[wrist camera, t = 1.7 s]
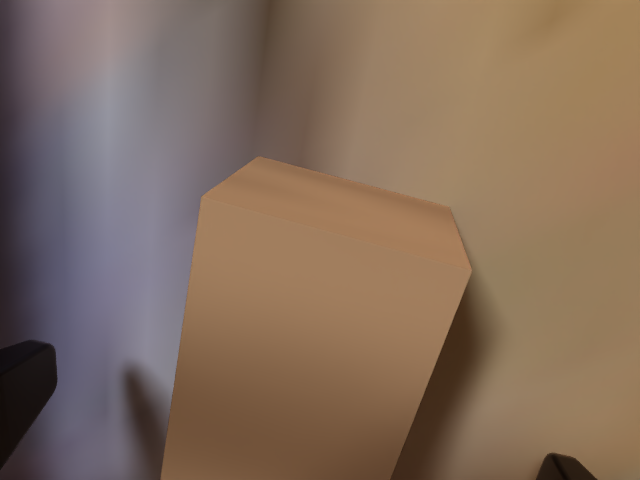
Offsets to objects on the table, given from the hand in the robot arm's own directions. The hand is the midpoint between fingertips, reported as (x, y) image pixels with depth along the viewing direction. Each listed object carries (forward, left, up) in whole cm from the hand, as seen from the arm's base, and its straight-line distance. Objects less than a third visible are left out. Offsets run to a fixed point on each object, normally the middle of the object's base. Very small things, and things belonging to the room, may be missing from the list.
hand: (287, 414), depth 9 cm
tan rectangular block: (0, 0, -2) cm, 2 cm away
